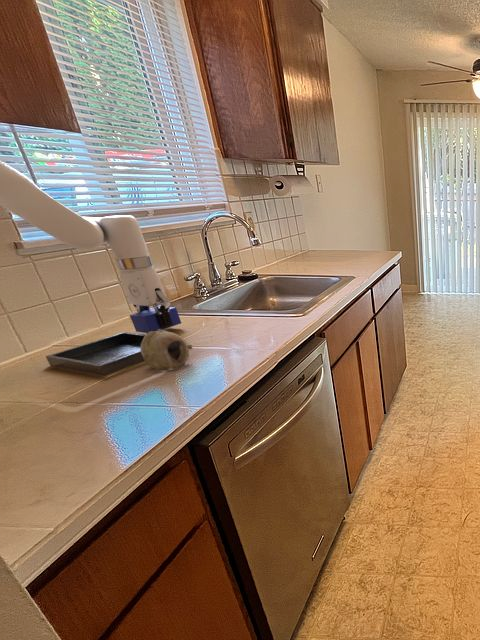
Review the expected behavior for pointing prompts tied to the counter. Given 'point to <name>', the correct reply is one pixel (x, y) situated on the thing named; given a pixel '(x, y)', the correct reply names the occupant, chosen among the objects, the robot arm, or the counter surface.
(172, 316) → the blue block
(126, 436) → the counter surface
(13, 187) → the robot arm
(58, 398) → the counter surface
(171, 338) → the beige rounded hollow piece
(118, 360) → the tray
